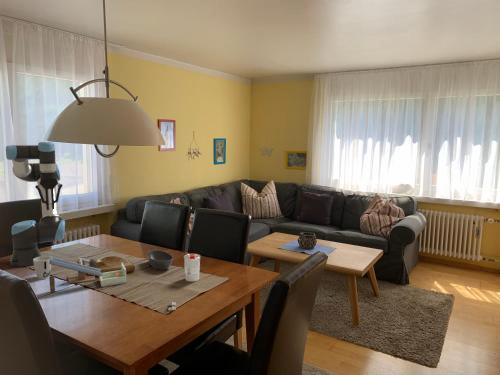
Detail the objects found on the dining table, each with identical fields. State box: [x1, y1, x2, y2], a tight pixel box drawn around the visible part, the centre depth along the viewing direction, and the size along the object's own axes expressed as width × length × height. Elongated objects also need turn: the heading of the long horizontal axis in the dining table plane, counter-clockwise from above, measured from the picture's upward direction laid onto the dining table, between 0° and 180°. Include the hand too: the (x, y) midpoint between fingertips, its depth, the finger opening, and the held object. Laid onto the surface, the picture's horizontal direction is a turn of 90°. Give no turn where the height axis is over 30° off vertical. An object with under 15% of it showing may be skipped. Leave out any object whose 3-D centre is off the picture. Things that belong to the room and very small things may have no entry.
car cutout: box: [168, 301, 177, 311], centre depth 153 cm, size 15×7×4 cm, turn 12°
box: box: [98, 262, 127, 288], centre depth 183 cm, size 10×12×7 cm
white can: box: [183, 253, 201, 283], centre depth 187 cm, size 10×8×12 cm
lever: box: [49, 256, 103, 277], centre depth 181 cm, size 18×24×4 cm
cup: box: [33, 255, 52, 280], centre depth 187 cm, size 8×8×10 cm
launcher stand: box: [48, 259, 96, 294], centre depth 181 cm, size 18×20×10 cm
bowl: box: [145, 249, 174, 271], centre depth 206 cm, size 12×22×6 cm, turn 39°
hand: (51, 215), depth 196 cm, fingers closed
